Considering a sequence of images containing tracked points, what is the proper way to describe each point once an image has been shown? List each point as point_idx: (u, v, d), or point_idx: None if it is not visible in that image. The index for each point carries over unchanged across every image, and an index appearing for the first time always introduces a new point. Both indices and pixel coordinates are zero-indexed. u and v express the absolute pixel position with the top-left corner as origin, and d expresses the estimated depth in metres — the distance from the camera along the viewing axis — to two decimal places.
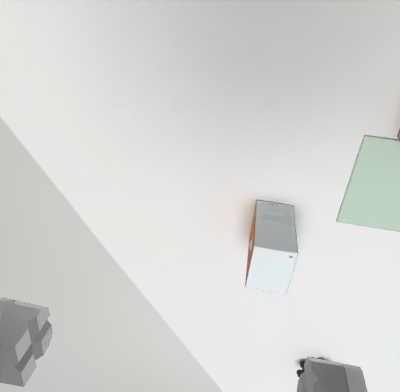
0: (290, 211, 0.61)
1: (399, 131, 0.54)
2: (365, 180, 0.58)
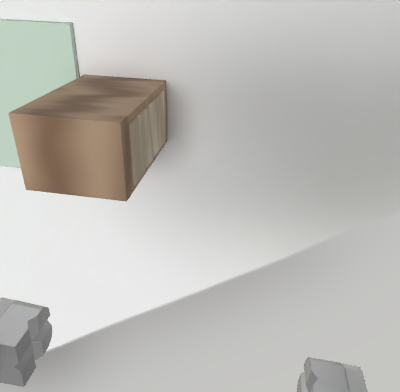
0: None
1: (91, 76, 0.36)
2: (3, 45, 0.35)
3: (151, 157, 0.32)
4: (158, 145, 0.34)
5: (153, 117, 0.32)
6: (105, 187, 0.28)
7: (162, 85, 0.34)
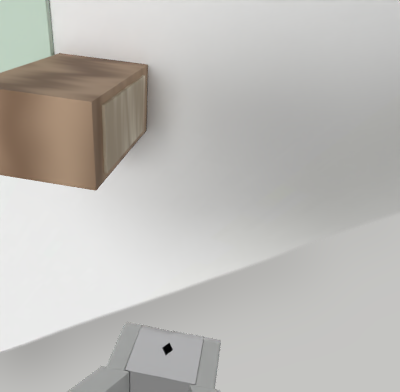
0: None
1: (67, 55, 0.33)
2: None
3: (127, 145, 0.30)
4: (136, 133, 0.32)
5: (132, 101, 0.29)
6: (72, 174, 0.25)
7: (143, 69, 0.32)
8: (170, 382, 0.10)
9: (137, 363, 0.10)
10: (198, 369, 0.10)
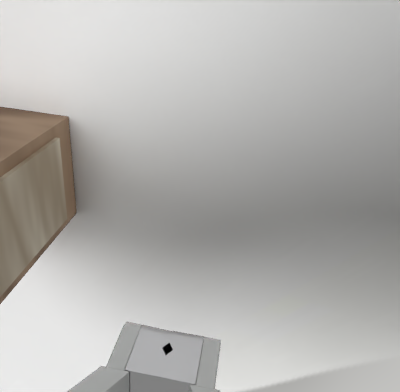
0: None
1: None
2: None
3: (20, 266, 0.17)
4: (45, 234, 0.19)
5: (24, 193, 0.16)
6: None
7: (57, 127, 0.19)
8: (170, 382, 0.10)
9: (137, 363, 0.10)
10: (198, 369, 0.10)
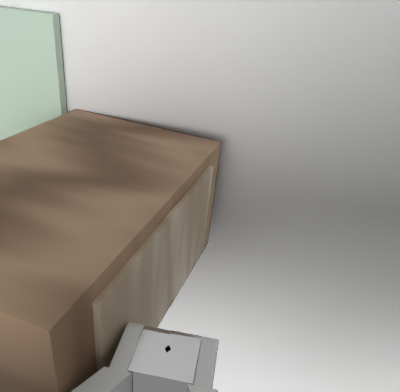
0: None
1: (86, 113, 0.19)
2: None
3: (165, 309, 0.15)
4: (186, 271, 0.17)
5: (181, 230, 0.15)
6: None
7: (212, 154, 0.17)
8: (168, 381, 0.10)
9: (140, 364, 0.10)
10: (196, 368, 0.10)
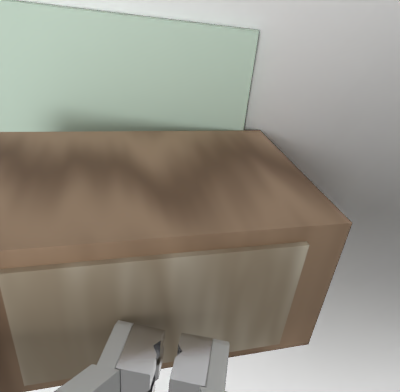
0: None
1: (261, 136, 0.18)
2: (107, 62, 0.18)
3: None
4: None
5: (200, 286, 0.12)
6: None
7: (317, 229, 0.12)
8: (180, 384, 0.10)
9: (128, 361, 0.10)
10: (208, 371, 0.10)
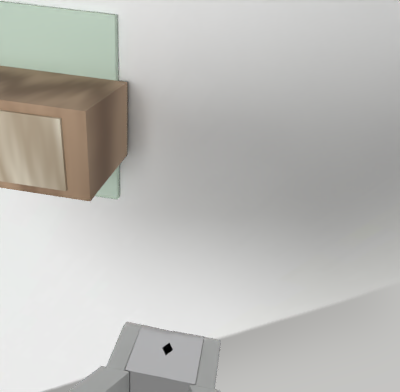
0: None
1: (121, 84, 0.28)
2: (25, 36, 0.28)
3: None
4: (31, 179, 0.24)
5: (6, 131, 0.23)
6: None
7: (65, 111, 0.22)
8: (170, 382, 0.10)
9: (137, 363, 0.10)
10: (198, 369, 0.10)
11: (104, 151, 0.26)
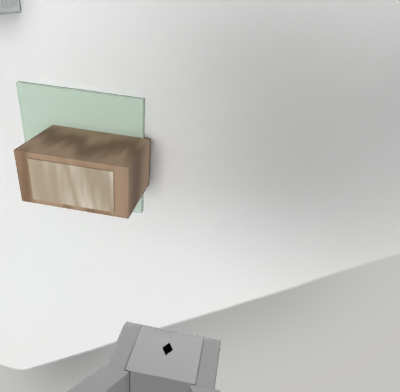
0: (9, 7, 0.38)
1: (146, 141, 0.43)
2: (84, 110, 0.44)
3: (72, 203, 0.40)
4: (93, 205, 0.40)
5: (80, 178, 0.38)
6: None
7: (116, 167, 0.37)
8: (170, 382, 0.10)
9: (137, 363, 0.10)
10: (198, 369, 0.10)
11: (136, 187, 0.41)
